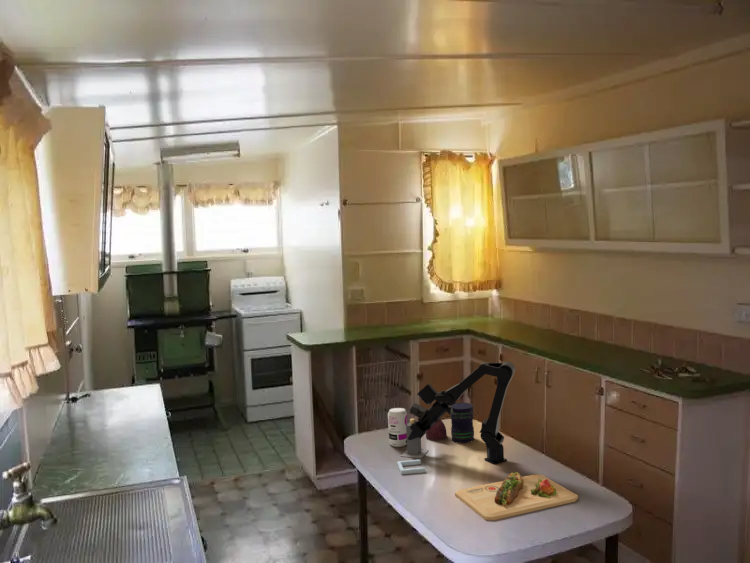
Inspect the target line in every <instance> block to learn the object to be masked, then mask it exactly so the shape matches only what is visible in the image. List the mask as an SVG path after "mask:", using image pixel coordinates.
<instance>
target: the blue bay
mask: <svg viewBox="0 0 750 563" xmlns="http://www.w3.org/2000/svg"><path fill="white" fill-rule="evenodd" d="M414 465H415V466H416V465H422V460H421V458H417V459H410V460H399V461H396V466H397V467H398V470H399V473H400V474H401V475H410V474H411V475H412V474H421V473H426V467H425V466H423V467H422V466H421V467H415V468H414V467H413V468H404V467H406V466H414Z"/></svg>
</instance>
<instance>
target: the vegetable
mask: <svg viewBox="0 0 750 563" xmlns="http://www.w3.org/2000/svg"><path fill="white" fill-rule="evenodd" d="M447 435H448V434H447V428H446V425H445V423H444V421H443V419H442V417H441V418H440V419H439V420H438V421H437V422H436V423H435V424H434V425H433V426H432V427H431V428H430V429H429V430H428V431H426V434H425V439H426V438H427V440H428V439H429V440H428V441H442V440H445V439H446V438H447Z"/></svg>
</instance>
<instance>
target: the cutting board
mask: <svg viewBox="0 0 750 563" xmlns="http://www.w3.org/2000/svg"><path fill="white" fill-rule="evenodd" d="M454 496H455V497H456V498H457V499H458V498H459V499H460V500H459V499H458V500H459V501H461V502H462V503H463V504H464V503H465V504H464V505H466V506H467V507H468V506H469V507H470V508H469V507H468V508H469V509H471V510H472V511H474V512H475V513H476V514H477V515H478V514H479V515H478V516H479V517H481V518H482V519H483V520H484V521H496V520H501V519H505V518H510V517H513V516H518V515H523V514H528V513H531V512H536V511H540V510H544V509H548V508H553V507H558V506H562V505H566V504H570V503H574V502H576V501H577V500H579V495H578V494H576V493H574V492H573V491H571V490H569V489H568V488H566V487H564V486H562V485H561V484H558V483H557V482H556V481H553V480H552V479H550V478H548V477H547V476H545V475H543V474H540V473H539V474H537V473H535V474H530V475H526V476H525V475H524V476H521V473H519V472H518V471H516V472H511V473H509V474H508V475H507V476H506V477H505V478H504V480H501V481H497V482H492V483H487V484H486V483H485V484H482V485H481V484H480V485H476V486H473V487H467V488H462V489H458V490H457V491H455V492H454Z"/></svg>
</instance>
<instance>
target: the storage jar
mask: <svg viewBox="0 0 750 563" xmlns="http://www.w3.org/2000/svg"><path fill="white" fill-rule="evenodd" d="M451 406H453V407H452V409H453V412H452V413H451V414H449V415H450V420H451V427H450V430H451V431H450V434H451V441H452V442H453V441H454V442H453V443H456V442H457V443H456V444H468V443H467V442H470V443H472V442H474V441H475V437H474V436H475V428H474V406H473V404H472V403H469V402H455V403H454V404H453V405H451ZM473 440H474V441H473ZM471 441H472V442H471Z"/></svg>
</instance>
